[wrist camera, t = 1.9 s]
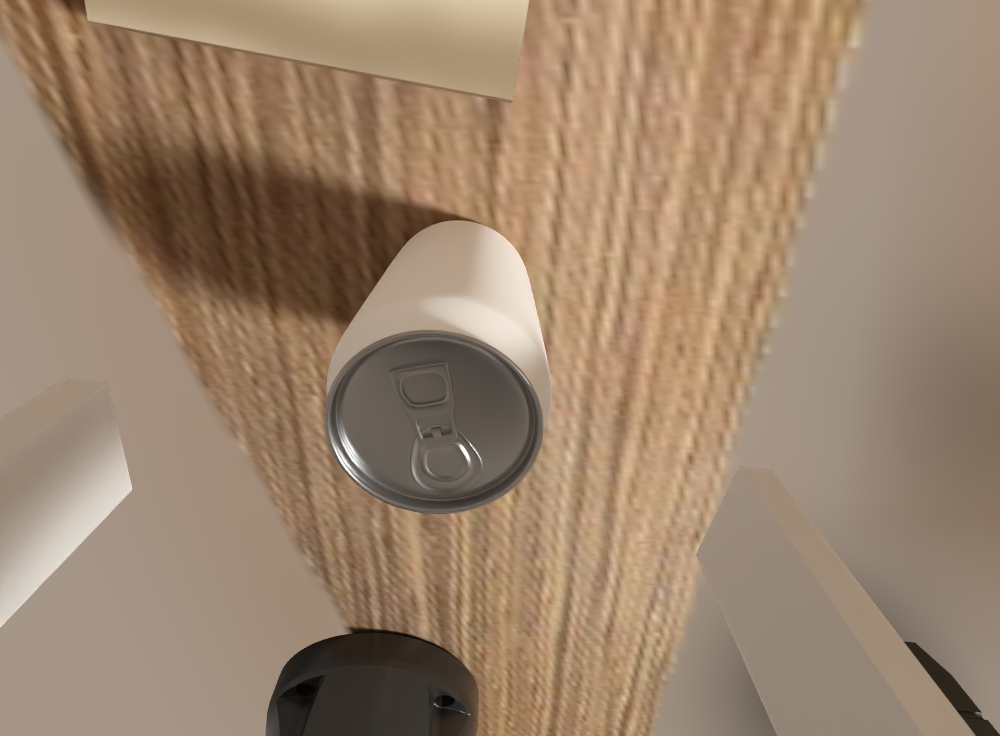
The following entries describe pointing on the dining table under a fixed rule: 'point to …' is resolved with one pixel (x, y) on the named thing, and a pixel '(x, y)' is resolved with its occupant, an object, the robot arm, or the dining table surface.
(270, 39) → the riser
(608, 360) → the dining table surface
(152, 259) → the dining table surface
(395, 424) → the can
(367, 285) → the dining table surface
